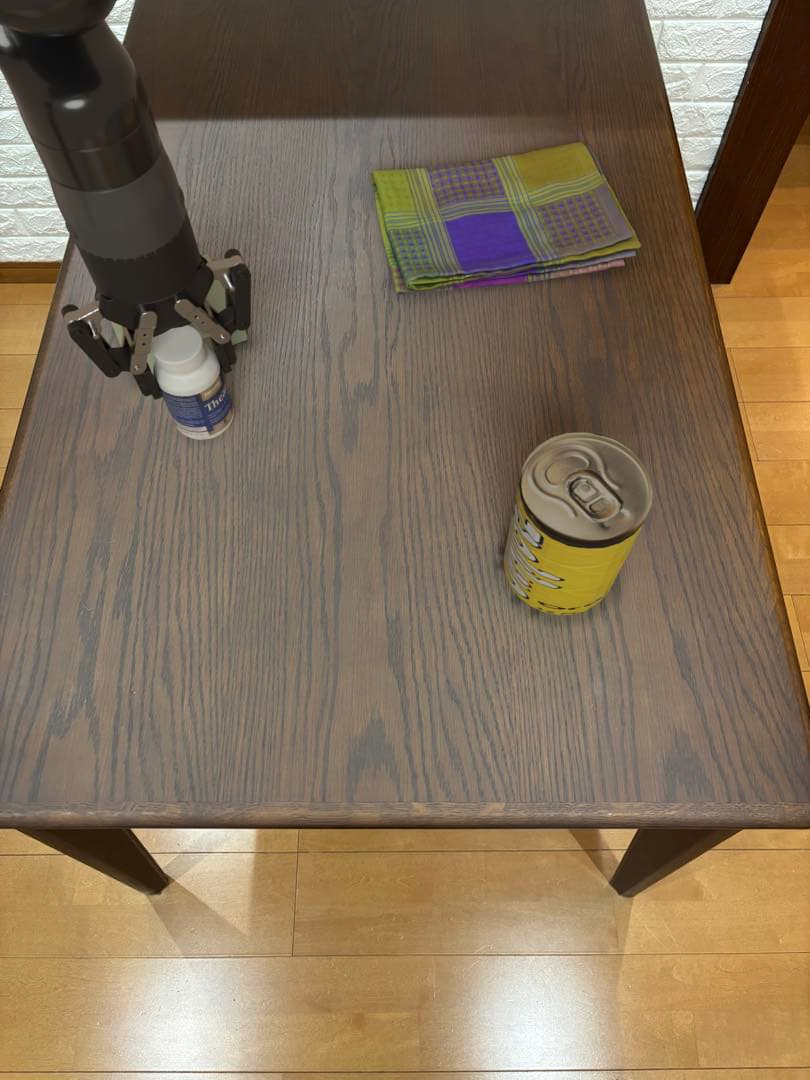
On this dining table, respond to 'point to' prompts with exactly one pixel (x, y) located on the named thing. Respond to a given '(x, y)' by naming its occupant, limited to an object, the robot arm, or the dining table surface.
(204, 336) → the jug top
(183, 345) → the pill bottle
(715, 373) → the dining table surface
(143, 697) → the dining table surface
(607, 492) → the beverage can
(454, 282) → the dish towel
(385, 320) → the dining table surface
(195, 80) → the dining table surface
